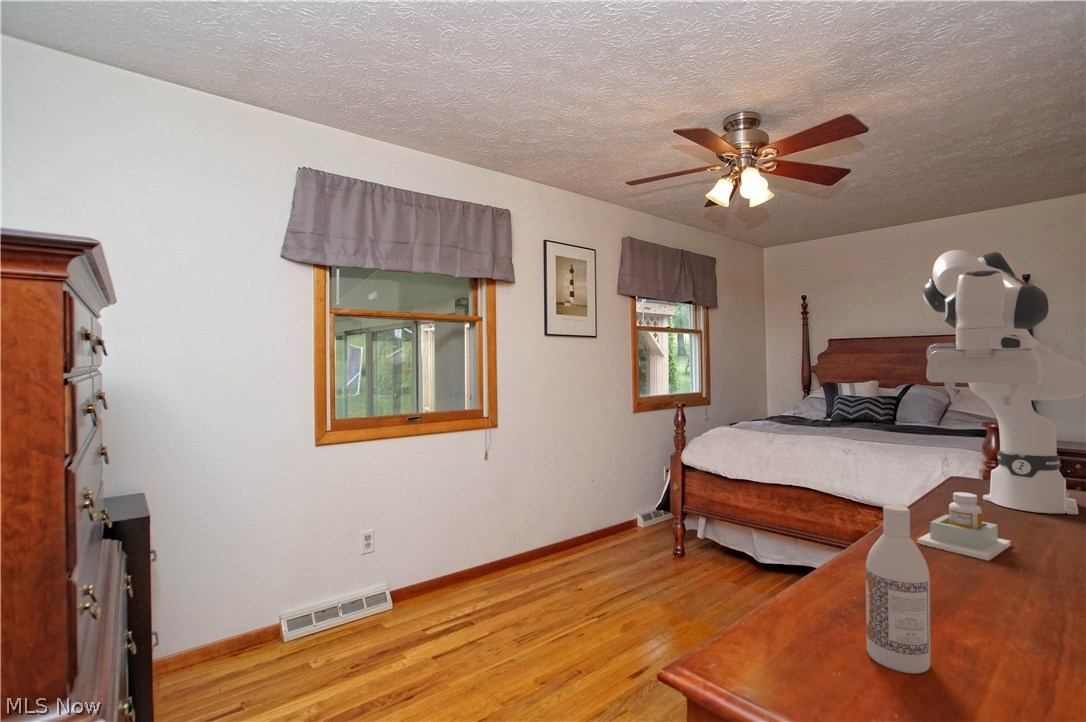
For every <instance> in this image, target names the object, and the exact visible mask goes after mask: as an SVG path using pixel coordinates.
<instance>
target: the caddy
mask: <svg viewBox="0 0 1086 722" xmlns="http://www.w3.org/2000/svg"><path fill="white" fill-rule="evenodd" d="M916 541H917V543H919V544H918V545H921V544H922V546H925V545H926V546H925V547H931V548H934V547H935V548H934V549H939V550H942V549H943V551H947V552H951V553H955V554H960V555H963V556H967V557H972V558H977V559H980V560H984V561H991V560H992V559H994V558H995V557H996V556H997V555H999V554H1001V553H1003V551H1005V550H1006V549H1008V548H1009V547H1011V542H1012V541H1011V540H1010V539H1009V540H1008V539H1004V538H999V536H998V524H995V523H991V522H986V521H982V528H981V529H979V530H974V529H969V528H964V527H959V526H954V525H949V514H945V515H942V516H940V517H937V518H936V519H934V520H932V521H930V522H929V532H928V533H926V534H924V535H922V536H920V537H918V538H917V540H916ZM917 543H916V544H917Z"/></svg>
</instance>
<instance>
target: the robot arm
mask: <svg viewBox="0 0 1086 722" xmlns="http://www.w3.org/2000/svg"><path fill="white" fill-rule="evenodd" d="M1015 273H1016V270H1015V266H1014V264H1013V262H1012V260H1011V259H1010V258H1009V257H1007V256H1005V255H1003V254H1002V253H1000V252H997V251H994V252H993V251H992V252H988V253H986V254H983V255H981V257H980V256H979V257H978V258H977V257H976V256H975V255H973V254H971V253H970V252H969V251H965V250H962V249H951V250H948V251H945V252H943V253H942V254H941V255H939V256H938V257H937V259H936V260H935V262H934V263H933V267H932V278H929V279H928V282H927V283H926V284H925V285H924V287H923V289H922V294H923V295H922V296H923V300H924V302H925V304H926V305H927V306H928V307H929V308H930V309H932V310H934V312H937V313H940V314H943V313H944V314H945V315H944V322H945V323H946V324H948V326H950V327H952V328H953V329H955V342H948V343H941V342H937V343H934V344H933V345H932V344H931V345H930V346H929V347H927V349H926V359H927V365H926V374H925V375H926V379H927V380H928V382H929V383H944V389H945V390H946V391H947V393H948V394H949V395H950V403H955V404H957V403H958V404H961V403H962V399H961V398H962V394H957V392H956V391H955V390H954V388H955V387H956V384H957V383H958V384H960V383H961V384H968V386H969V389H970V390H971V392H972V393H974V395H975V396H977V397H979V398H980V399H982V401H984V402H985V403H986V404H987V405H988V406H989V407H990V408H991V410H992V411H993V413H994V415H995V417H996V420H997V423H998V431H999V432H998V433H999V450H998V451H997V454H996V455H997V463H998V465H997V467H995V468H994V469H992V470H991V471H990V485H989V486H990V488H989V493H988V494H983V495H982V499H983V500H984V501H987V502H988V501H989V502H991V503H994V504H996V505H998V506H1001V507H1005V508H1007V509H1008V508H1010V509H1014V510H1017V511H1018V510H1019V511H1024V512H1025V511H1026V512H1032V513H1040V514H1042V513H1043V514H1044V513H1045V514H1065V513H1067V514H1068V515H1079V508H1078V503H1077V500H1076V499H1074V498H1071V493H1070V492H1067V480H1066V478H1065V477H1064V476H1063V475H1062V473H1061V472H1060V468H1061V465H1060V464H1061V459H1060V455H1059V454H1058V453H1057V452H1058V451H1057V449H1058V447H1057V446H1058V445H1057V443H1058V441H1057V427H1056V425H1055V423H1054V422H1053V421H1051V420H1050V419H1049V418H1048V417H1045V416H1043V415H1041V414H1038V413H1037V412H1036V411H1035V409H1034V407H1033V405H1032V404H1033V403H1032V401H1064V400H1070V399H1073V398H1074V399H1075V398H1079V397H1082V396H1084V395H1085V394H1086V366H1085V365H1084V364H1083V363H1082V362H1079V361H1078V360H1077V361H1076V360H1073V359H1070V358H1067V357H1064V356H1063V355H1060V354H1058V353H1056V352H1054V351H1052V350H1051V349H1049V348H1048V347H1046V346H1045V345H1043V344H1042V343H1041V342H1039V341H1038V340H1037V339H1035V338H1034V337H1033V336H1032V335H1031V333H1030V332H1029V330H1031V329H1034V328H1035V327H1037V326H1038V325H1040V324H1041V323H1042V322H1043V321H1044V320H1046V319H1047V317H1048V314H1049V305H1050V304H1049V300H1048V299H1049V298H1048V295H1047V294H1046V293H1045V291H1044V290H1042V289H1041V288H1040V287H1038V286H1037V285H1035V284H1028V283H1025V282H1024V281H1023V280H1022V279H1020V278H1018V277H1016V274H1015Z"/></svg>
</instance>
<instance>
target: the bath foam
mask: <svg viewBox="0 0 1086 722" xmlns="http://www.w3.org/2000/svg"><path fill="white" fill-rule="evenodd" d="M882 511H883V517H882V518H883V520H882V521H883V522H882V526H883V533H882V534H881V535H880V537H878V539H877V540H876V542H875V543H874V544H873V545H872V547H871V548H870V550H869V552H868V554H867V557H866V563H865V605H866V606H865V611H866V612H865V617H866V618H865V619H866V625H865V627H866V629H865V630H866V631H865V632H866V651H867V654H868V655H869V656H870V658H871V659H873V660H874V661H875V662H876V663H877V664H880V666H883V667H885V668H887V669H890V670H893V671H897V672H898V673H899V672H900V673H904V674H913V675H914V674H923V673H926V672H927V671H929V669H930V667H931V594H930V593H931V587H930V586H931V585H930V584H931V582H930V572H929V566H928V564H927V561H926V558H925V557H924V556H923V553H922V552H921V550H920V549H919V548H918V546H917V545H916V543H915V542H914V540H912V537H911V510H910V509H909V508H908V507H906V506H901V505H896V504H895V505H894V504H885V505H884V506H883V507H882Z"/></svg>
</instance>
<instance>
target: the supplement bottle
mask: <svg viewBox="0 0 1086 722" xmlns="http://www.w3.org/2000/svg"><path fill="white" fill-rule="evenodd" d="M952 500H953V502H951V503H950V504H949V506H948V515H949V525H954V526H959V527H964V528H969V529H974V530H979V529H981V528H982V522H983V518H982V516H983V512H982V508H981V507H980V506H979V505H977V503H978V495H977V494H973V493H970V492H963V491H962V492H961V491H957V492H953V493H952Z"/></svg>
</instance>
